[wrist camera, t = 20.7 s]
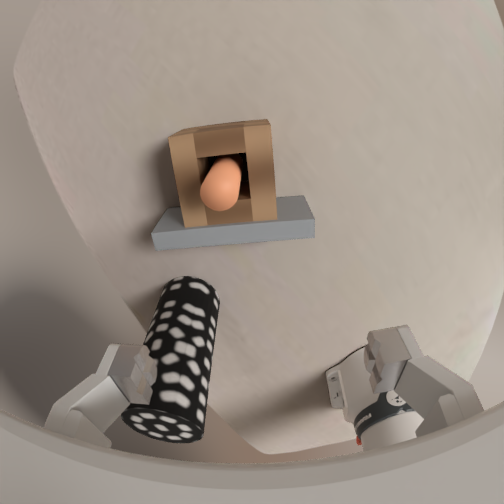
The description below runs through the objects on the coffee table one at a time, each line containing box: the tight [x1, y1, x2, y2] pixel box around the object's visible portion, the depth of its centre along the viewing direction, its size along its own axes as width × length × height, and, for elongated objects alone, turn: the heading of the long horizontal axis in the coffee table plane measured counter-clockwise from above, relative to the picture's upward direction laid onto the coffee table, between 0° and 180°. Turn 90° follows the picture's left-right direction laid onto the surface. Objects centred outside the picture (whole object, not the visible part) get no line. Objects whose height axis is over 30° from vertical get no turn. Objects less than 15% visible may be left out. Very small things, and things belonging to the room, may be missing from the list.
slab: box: [151, 196, 315, 251], centre depth 31 cm, size 2×16×6 cm, turn 95°
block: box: [168, 119, 277, 228], centre depth 28 cm, size 9×9×6 cm
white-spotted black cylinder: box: [121, 276, 220, 443], centre depth 32 cm, size 8×8×20 cm
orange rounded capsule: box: [200, 153, 243, 211], centre depth 26 cm, size 3×3×10 cm
